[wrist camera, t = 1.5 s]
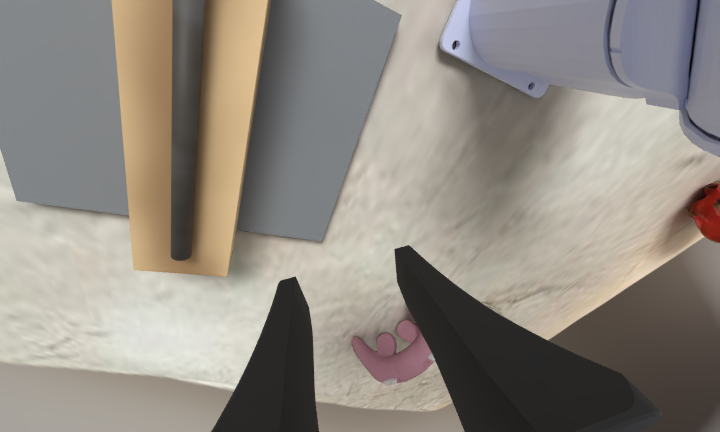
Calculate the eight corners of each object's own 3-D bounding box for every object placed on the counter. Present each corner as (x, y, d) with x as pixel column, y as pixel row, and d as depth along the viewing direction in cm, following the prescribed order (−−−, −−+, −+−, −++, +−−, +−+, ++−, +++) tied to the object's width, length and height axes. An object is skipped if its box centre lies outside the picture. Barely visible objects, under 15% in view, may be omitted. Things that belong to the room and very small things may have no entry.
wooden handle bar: (292, -130, 11) (297, -227, 7) (235, 241, 20) (223, 291, 16) (148, -226, 9) (41, -434, 5) (158, 232, 18) (122, 286, 14)
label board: (396, 16, 15) (402, 15, 14) (320, 235, 22) (322, 242, 22) (-99, -247, 8) (-137, -275, 7) (28, 194, 16) (15, 201, 15)
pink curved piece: (360, 336, 35) (387, 391, 32) (345, 341, 31) (374, 404, 28) (421, 297, 34) (455, 351, 30) (413, 296, 30) (451, 359, 26)
